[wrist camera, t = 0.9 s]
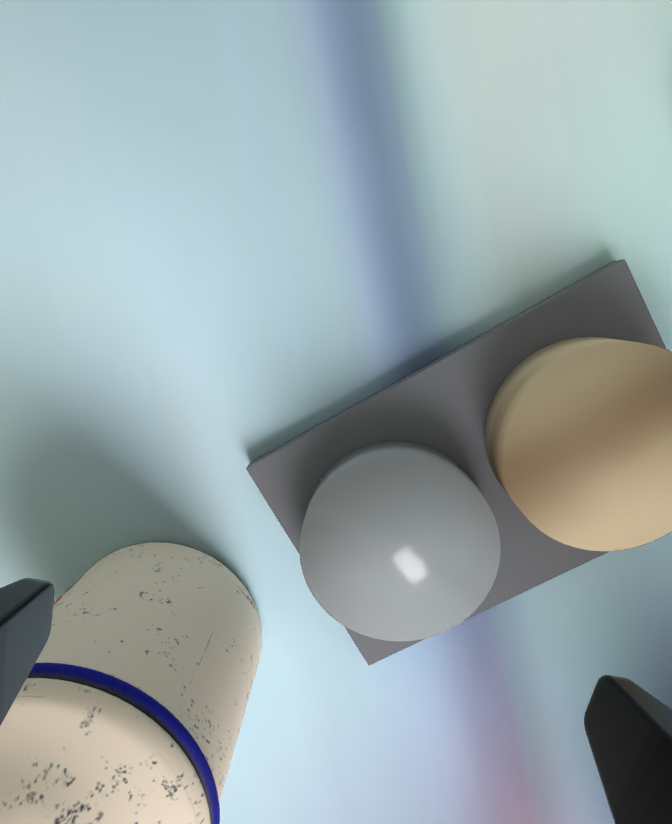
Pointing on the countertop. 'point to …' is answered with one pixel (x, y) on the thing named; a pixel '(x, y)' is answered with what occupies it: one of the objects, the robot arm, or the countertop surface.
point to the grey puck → (399, 542)
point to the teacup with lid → (133, 695)
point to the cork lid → (587, 441)
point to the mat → (463, 427)
